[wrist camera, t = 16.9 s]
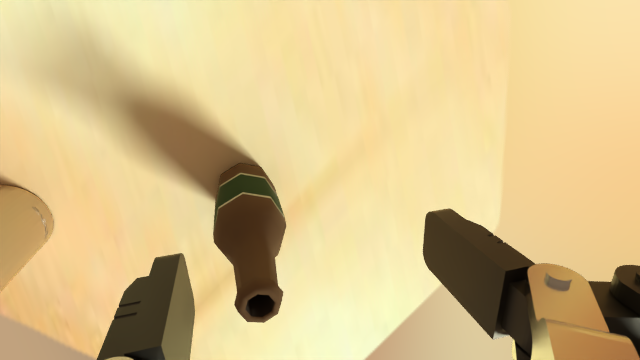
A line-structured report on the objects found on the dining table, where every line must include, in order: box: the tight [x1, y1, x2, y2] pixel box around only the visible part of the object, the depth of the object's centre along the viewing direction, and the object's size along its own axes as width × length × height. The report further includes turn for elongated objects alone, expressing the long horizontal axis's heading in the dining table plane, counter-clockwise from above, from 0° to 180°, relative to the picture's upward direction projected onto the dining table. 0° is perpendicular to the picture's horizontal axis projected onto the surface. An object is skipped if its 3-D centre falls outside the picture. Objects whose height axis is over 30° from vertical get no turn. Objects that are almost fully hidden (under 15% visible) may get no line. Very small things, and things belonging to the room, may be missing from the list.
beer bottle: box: [213, 163, 286, 323], centre depth 37 cm, size 8×8×24 cm
